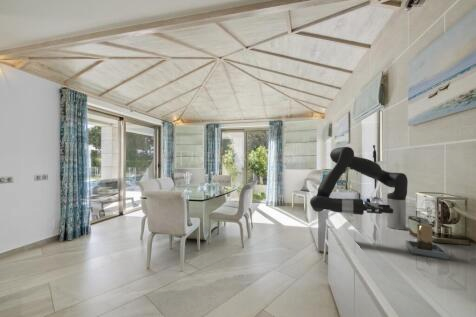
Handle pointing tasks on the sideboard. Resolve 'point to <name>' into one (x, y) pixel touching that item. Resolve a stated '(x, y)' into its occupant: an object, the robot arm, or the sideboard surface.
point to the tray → (427, 251)
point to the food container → (415, 224)
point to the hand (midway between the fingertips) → (391, 209)
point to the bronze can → (424, 237)
